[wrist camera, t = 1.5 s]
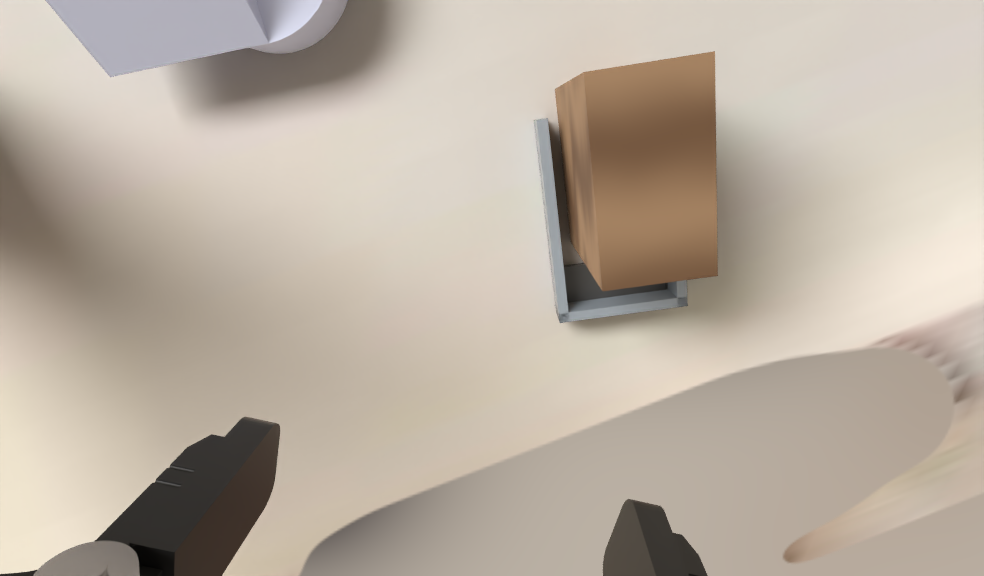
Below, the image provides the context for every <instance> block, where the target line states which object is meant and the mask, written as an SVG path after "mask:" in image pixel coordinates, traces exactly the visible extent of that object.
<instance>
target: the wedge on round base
mask: <svg viewBox="0 0 984 576" xmlns="http://www.w3.org/2000/svg"><path fill="white" fill-rule="evenodd" d="M46 2H47V3H48V4H49V5H50V6H51V8H52V9H53V10H54V11H55V12H56V14H57V15H58V16H59V17H60V18H61V19H62V21H63V22H64V23H65V24H66V25H67V27H68V28H69V29H70V30H71V31H72V32H73V34H74V35H75V36H76V37H77V38H78V40H79V41H80V42H81V43H82V44H83V46H84V47H85V48H86V49H87V50H88V51H89V53H90V54H91V55H92V56H93V57H94V59H95V60H96V61H97V62H98V63H99V65H100V66H101V67H102V68H103V69H104V70H105V72H106V73H107V74H108V75H109V76H110V77H114V76H118V75H123V74H128V73H132V72H137V71H142V70H146V69H151V68H156V67H160V66H165V65H170V64H174V63H179V62H184V61H188V60H193V59H198V58H202V57H207V56H212V55H216V54H221V53H226V52H230V51H235V50H240V49H244V48H252V49H255V50H258V51H261V52H267V53H277V54H284V53H292V52H297V51H300V50H303V49H306V48H308V47H310V46H312V45H314V44H316V43H317V42H318V41H320V40H321V39H323V38H324V37H325V36H326V35H327V34H328V33H329V32H330V31H331V30H332V29H333V28H334V26H335V25H336V24H337V22H338V21H339V19H340V17H341V16H342V14H343V12H344V10H345V7H346V5H347V2H348V0H46Z"/></svg>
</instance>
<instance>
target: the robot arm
mask: <svg viewBox="0 0 984 576" xmlns="http://www.w3.org/2000/svg"><path fill="white" fill-rule="evenodd" d="M279 437H280V426H279V424H277V423H272V422H267V421H263V420H258V419H254V418H249V417H243V418H242V419H241V420H240V421H239V422H238V423H237V424H236V425H235V426H234V427H233V428H232V430H231V431H230V432H229V433H228V434H227V435H226V436H225V437H221V436H217V435H210V436H208V437H206V438H204V439H202V440H200V441H199V442H197V443H195V444H193V445H191V446H189V447H187V448H186V449H185V450H184V451H183V452H182V453H181V455H180V456H179V457H178V458H177V459H176V460H175V461H174V462H173V463H172V464H171V465H170V468H167V469H166V470H165V471H164V472H163V473H162V474H161V475H160V476H159V477H158V478H157V479H156V482H155V483H152V484H151V485H150V486H149V487H148V488H147V489H146V490H145V491H144V492H143V493H142V494H141V495H140V496H139V497H138V498H137V499H136V500H135V501H134V502H133V503H132V504H131V505H130V506H129V507H128V508H127V509H126V510H125V511H124V512H123V513H122V514H121V515H120V516H119V517H118V518H117V519H116V520H115V521H114V522H113V523H112V524H111V525H110V526H109V527H108V528H107V530H106V531H105V532H104V533H103V534H102V535H101V536H100V537H99V538H98V539H97V540H95V541H94V542H89V543H85V544H81V545H78V546H75V547H73V548H70V549H68V550H66V551H64V552H62V553H60V554H58V555H56V556H55V557H53V558H52V559H50V560H49V561H47V562H46V563H45V564H44V565H42V566H41V567H40V568H39V569H38V570H34V571H30V572H22V573H11V574H0V576H222V574H223V573H224V571H225V570H226V568H227V566H228V565H229V563H230V562H231V560H232V559H233V557H234V555H235V554H236V552H237V551H238V549H239V548H240V546H241V544H242V543H243V541H244V540H245V538H246V537H247V535H248V533H249V532H250V530H251V529H252V527H253V526H254V524H255V522H256V521H257V519H258V518H259V516H260V515H261V513H262V511H263V510H264V508H265V506H266V504H267V502H268V500H269V498H270V495H271V492H272V489H273V486H274V481H275V474H276V465H277V455H278V446H279ZM603 576H707V573H706V571H705V569H704V566H703V564H702V562H701V559H700V557H699V555H698V554H697V553H696V551H695V550H694V549H693V548H692V547H691V545H690V544H689V543H688V542H687V540H686V539H685V538H684V537H683V536H682V535H680V534H676V533H672V530H671V527H670V525H669V522H668V520H667V517H666V514H665V512H664V510H663V509H662V507H660V506H658V505H653V504H649V503H644V502H640V501H635V500H631V499H628V500H626V501H625V503H624V504H623V506H622V509H621V512H620V514H619V517H618V519H617V522H616V524H615V527H614V529H613V532H612V535H611V537H610V540H609V542H608V545H607V547H606V551H605V555H604V561H603Z"/></svg>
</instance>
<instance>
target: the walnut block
mask: <svg viewBox="0 0 984 576" xmlns="http://www.w3.org/2000/svg"><path fill="white" fill-rule="evenodd" d="M555 94H556V104H557V113H558V123H559V133H560V143H561V152H562V162H563V172H564V182H565V191H566V201H567V211H568V221H569V231H570V240H571V243H572V245H573V246H574V248H575V249H576V251H577V252H578V254H579V255H580V257H581V259H582V260H583V262H584V263H585V265H586V266H587V268H588V270H589V271H590V273H591V274H592V276H593V277H594V279H595V281H596V282H597V284H598V285H599V287H600V288H601V290H602V291H609V290H617V289H624V288H631V287H639V286H646V285H653V284H661V283H668V282H675V281H683V280H690V279H697V278H704V277H712V276H718V267H717V187H716V108H715V51H714V52H708V53H702V54H696V55H689V56H683V57H677V58H670V59H664V60H658V61H652V62H645V63H639V64H633V65H626V66H620V67H614V68H608V69H601V70H595V71H589V72H583V73H582V74H580V75H578V76H577V77H575V78H573V79H572V80H570V81H568V82H566V83H565V84H563V85H561V86H560V87H558V88H556V89H555Z"/></svg>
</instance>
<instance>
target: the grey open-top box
mask: <svg viewBox="0 0 984 576" xmlns="http://www.w3.org/2000/svg"><path fill="white" fill-rule="evenodd" d="M534 125H535V133H536V142H537V151H538V159H539V168H540V176H541V185H542V194H543V202H544V211H545V219H546V228H547V237H548V245H549V254H550V262H551V271H552V280H553V288H554V297H555V306H556V312H557V316H558V319H559V322H560V323H563V322H571V321H578V320H585V319H593V318H600V317H608V316H615V315H623V314H630V313H638V312H645V311H653V310H660V309H668V308H675V307H683V306H688V303H687V280H683V281H675V282H668V283H667V286H666V283H661V284H653V285H646V286H639V287H631V288H624V289H617V290H609V291H602V290H601V288H600V287H599V285H598V284H597V282H596V281H595V279H594V277H593V276H592V274H591V273H590V271H589V270H588V268H587V266H586V265H585V263H582V264H574V265H567V266H563V256H562V247H561V238H560V229H559V219H558V210H557V201H556V192H555V182H554V173H553V164H552V155H551V145H550V136H549V127H548V118H546V119H539V120H534Z"/></svg>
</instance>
